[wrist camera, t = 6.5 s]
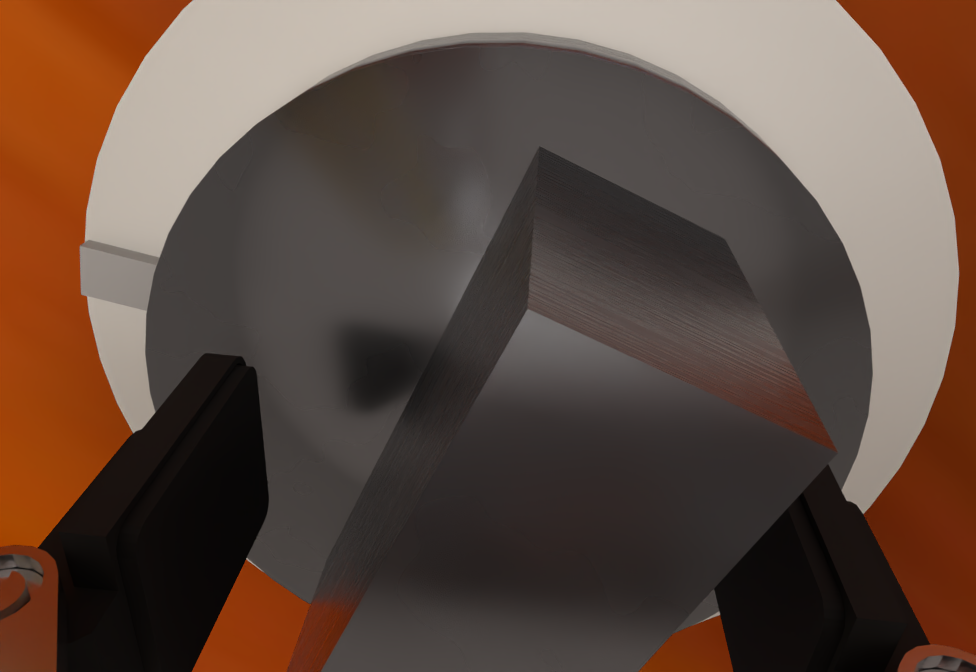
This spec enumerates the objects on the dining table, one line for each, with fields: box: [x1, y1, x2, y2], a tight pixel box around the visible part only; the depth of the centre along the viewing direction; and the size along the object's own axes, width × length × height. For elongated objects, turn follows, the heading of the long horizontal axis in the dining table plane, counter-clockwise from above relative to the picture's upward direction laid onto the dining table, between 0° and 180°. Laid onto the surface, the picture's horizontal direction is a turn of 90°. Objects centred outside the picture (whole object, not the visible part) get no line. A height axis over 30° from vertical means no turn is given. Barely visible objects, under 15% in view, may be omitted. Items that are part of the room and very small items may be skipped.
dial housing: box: [80, 0, 959, 624], centre depth 16 cm, size 16×16×3 cm
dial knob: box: [145, 32, 873, 672], centre depth 11 cm, size 12×12×6 cm
